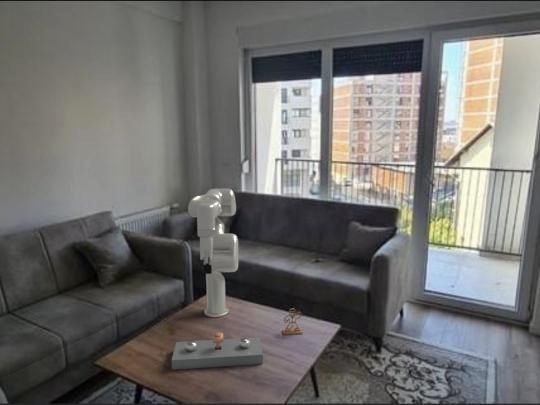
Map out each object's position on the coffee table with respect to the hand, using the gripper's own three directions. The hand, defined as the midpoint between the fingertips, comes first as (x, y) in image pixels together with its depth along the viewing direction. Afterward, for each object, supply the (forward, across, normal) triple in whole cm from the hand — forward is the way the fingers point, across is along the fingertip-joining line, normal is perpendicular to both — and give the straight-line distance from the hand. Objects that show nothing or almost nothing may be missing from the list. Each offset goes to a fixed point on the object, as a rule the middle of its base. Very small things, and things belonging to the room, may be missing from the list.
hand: (207, 273), depth 171 cm
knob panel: (+32, +13, +4) cm, 35 cm away
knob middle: (+28, +13, +4) cm, 31 cm away
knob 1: (+31, +13, -7) cm, 34 cm away
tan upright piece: (+32, -4, +38) cm, 50 cm away
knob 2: (+31, +13, +15) cm, 37 cm away
